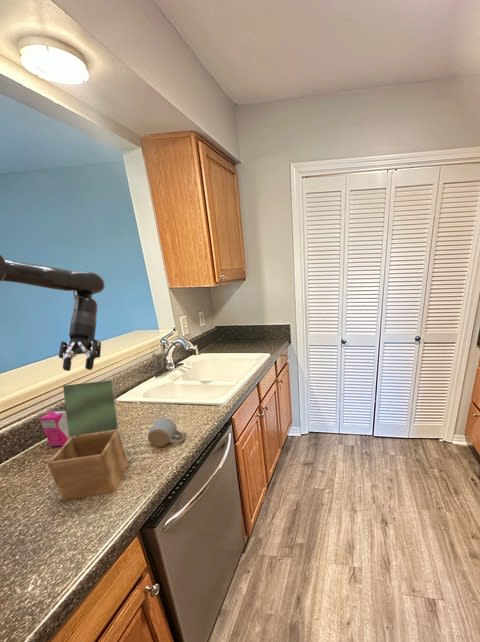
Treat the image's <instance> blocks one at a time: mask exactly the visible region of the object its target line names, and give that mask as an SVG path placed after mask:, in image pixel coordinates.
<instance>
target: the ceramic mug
mask: <svg viewBox="0 0 480 642" xmlns="http://www.w3.org/2000/svg"><path fill="white" fill-rule="evenodd" d="M175 435H176V436H179V437H180V439H173V438H174V436H175ZM184 439H185V435H184V433H182V432H181V431H179V430H177V425H176V423H175V422H174V421H173V420H171V419H169V418H167V417H162V418H158V419H156V420H155V421H154V423H153V425H152V426H151V429H150V430H149V431H148V435H147V440H148V442H149V444H151V445H152V446H154V447H157V448H162V447H165V446H167V445H169V443H171V444H175V445H176V444H181V443H183V441H184Z"/></svg>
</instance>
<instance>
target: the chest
mask: <svg viewBox="0 0 480 642" xmlns="http://www.w3.org/2000/svg"><path fill="white" fill-rule="evenodd" d="M128 466H129V463H128V459H127V456H126V452H125V448H124V446H123V443H122V439H121V436H120V431H119V430H112V431H105V432H98V433H91V434H84V435H76V437H70V438H69V439H68V441H67V442H66V443H65V444H64V445H63V446H62V447H60V448H59V449H58V451H57V452H56V453H55V454H54V456H52V457H51V459H50V460H49V461H48V462H47V467H48V468H49V471H50V473H51V476H52V478H53V481H54V483H55V485H56V487H57V490H58V493H59V495H60V497H61V500H62V501H69V500H75V499H81V498H87V497H93V496H98V495H105V494H109V493H116V491H117V489H118V488H119V485H120V483H121V480H122V478H123V476H124V474H125V472H126V470H127V467H128Z"/></svg>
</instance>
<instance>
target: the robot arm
mask: <svg viewBox="0 0 480 642" xmlns="http://www.w3.org/2000/svg"><path fill="white" fill-rule="evenodd" d="M1 282H8V283H9V282H10V283H16V284H23V285H28V286H29V285H30V286H35V287H38V288H39V287H40V288H45V289H49V290H56V291H65V292H72V293H73V301H74V303H73V311H72V316H71V317H70V318H71V320H70V325H69V332H68V336H69V339H70V340H69V342H66V341H61V343H60V346H59V352H58V358H60V359H63V362H62V369H63V370H64V371H67V372H70V371H71V368H72V360H73V359H74V358H75V357H77V356H78V355H85V356H86V359H85V366H84V367H85V369H86V370H89V371H91V370H93V368H94V364H95V363H94V361H95V360H96V359H97V358H98V359H99V358H100V357H101V352H102V351H101V350H102V342H101V341H99V340H97V339H95V337H96V331H97V313H98V302H97V301H96V300H95V299H93V296H94V295H96V294H99V293H101V292H103V291H104V289H105V286H106V285H105V281H104V279H103V278H102V277H101V276H100V275H99V274H97V273H95V272H92V271H83V270H67V269H63V268H59V267H54V266H48V265H42V264H35V263H27V262H20V261H14V260H9V259H6V258H5V257H3V255H1V254H0V283H1Z"/></svg>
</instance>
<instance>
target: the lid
mask: <svg viewBox="0 0 480 642" xmlns="http://www.w3.org/2000/svg"><path fill="white" fill-rule="evenodd" d="M62 389H63V397H64V406H65V411H66V415H67V423H68V432H69V436H74V435H75V436H82V435H89V434H96V433H103V432H111V431H118V430H119V426H118V425H119V424H118V417H117V410H116V400H115V392H114V384H113V380H110V379H109V380H102V381H92V382H84V383H76V384H75V383H74V384H67V385H65V384H64V385H62Z"/></svg>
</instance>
